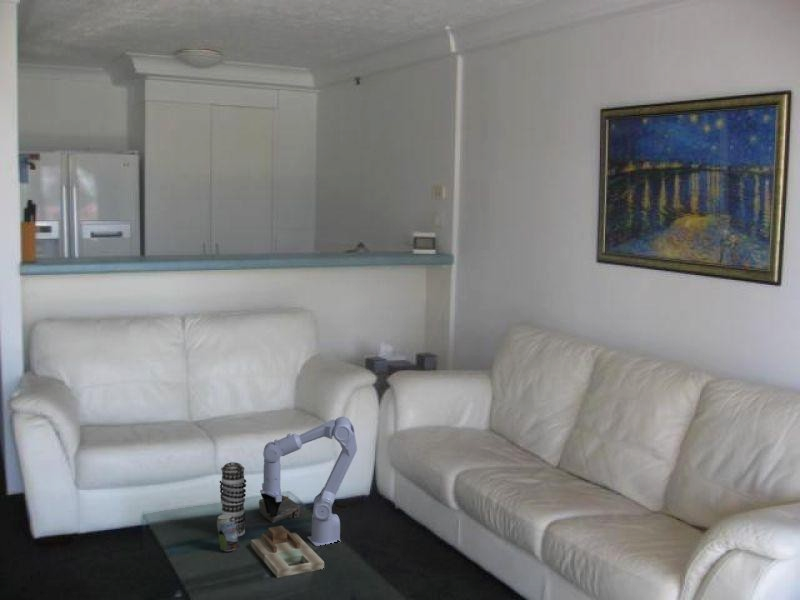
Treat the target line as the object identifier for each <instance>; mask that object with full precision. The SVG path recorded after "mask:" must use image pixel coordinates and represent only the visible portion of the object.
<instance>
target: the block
mask: <svg viewBox="0 0 800 600" xmlns="http://www.w3.org/2000/svg"><path fill="white" fill-rule="evenodd" d="M267 529H268V530H267V531H268V532H267V536H268V537H269V539H270V540H271V541H272V542H273V543H274V544H279V543H285V542H287V530H288V529H286V528H285V527H284V526H283V525H279V526H278V525H277V526H271V527H268V528H267Z"/></svg>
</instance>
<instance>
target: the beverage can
mask: <svg viewBox="0 0 800 600" xmlns="http://www.w3.org/2000/svg"><path fill="white" fill-rule="evenodd" d="M216 527H217V533H218V539H219V546H220V550H222V551H224V552H232V551H235V550H237V548H238V547H239V540H238V537H237V532H236V524H235V518H234V517H233V515H232V514H224V515H221V514H220V515H219V516H218V517H217V520H216Z"/></svg>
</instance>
